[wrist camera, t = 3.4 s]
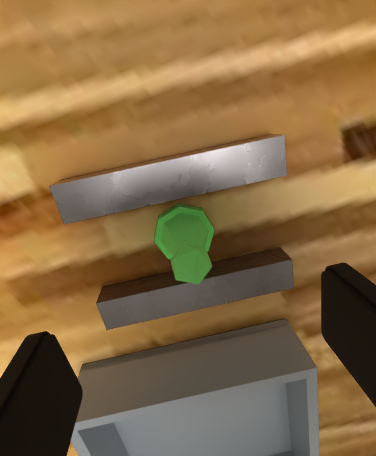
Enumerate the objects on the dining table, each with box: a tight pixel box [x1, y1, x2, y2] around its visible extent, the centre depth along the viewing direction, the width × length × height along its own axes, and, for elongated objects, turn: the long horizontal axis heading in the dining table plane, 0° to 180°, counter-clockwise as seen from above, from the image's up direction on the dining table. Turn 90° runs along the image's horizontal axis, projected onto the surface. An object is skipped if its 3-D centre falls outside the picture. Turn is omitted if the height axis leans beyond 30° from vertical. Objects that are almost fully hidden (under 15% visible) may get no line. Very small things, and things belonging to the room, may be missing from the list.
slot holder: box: [49, 134, 294, 330], centre depth 18 cm, size 14×11×2 cm
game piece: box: [154, 204, 214, 285], centre depth 16 cm, size 4×4×6 cm
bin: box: [71, 319, 319, 456], centre depth 24 cm, size 18×18×5 cm
